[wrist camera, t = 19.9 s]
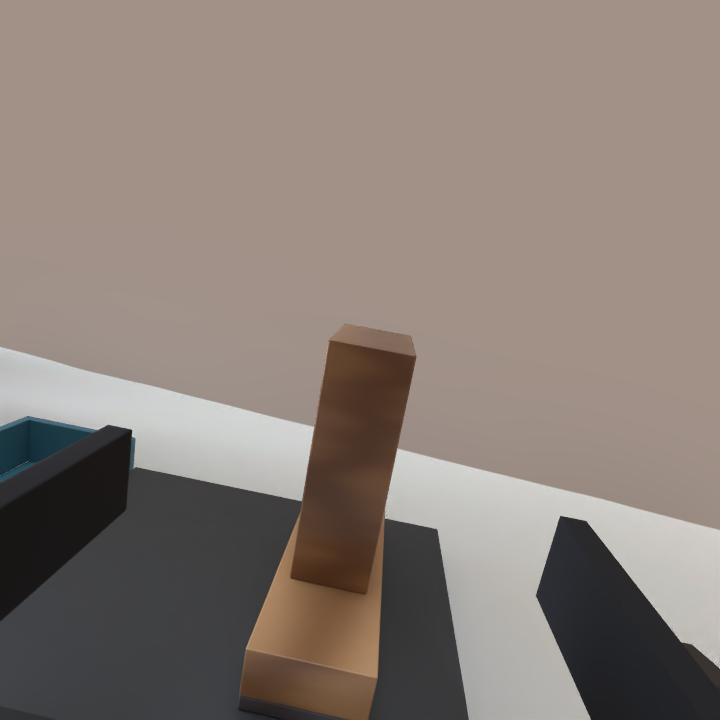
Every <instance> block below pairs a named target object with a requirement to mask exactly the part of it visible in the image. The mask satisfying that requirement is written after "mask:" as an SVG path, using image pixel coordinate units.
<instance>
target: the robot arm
mask: <svg viewBox="0 0 720 720" xmlns="http://www.w3.org/2000/svg"><path fill="white" fill-rule="evenodd" d="M131 438H132V430H131V429H126V428H121V427H116V426H111V425H107V426H105V427H103V428H101V429H100V430H98V431H96V432H94V433H92V434H90V435H88V436H86V437H84V438H83V439H81V440H79V441H77V442H75V443H73V444H71V445H69V446H68V447H66V448H64V449H62V450H60V451H58V452H56V453H54V454H52V455H51V456H49V457H47V458H45V459H43V460H41V461H39V462H37V463H35V464H34V465H32V466H30V467H28V468H26V469H24V470H22V471H20V472H19V473H17V474H15V475H13V476H11V477H9V478H7V479H5V480H3V481H2V482H0V621H2V620H3V619H4V618H5V617H6V616H7V615H8V614H10V613H11V612H12V611H13V610H14V609H15V608H16V607H17V606H19V605H20V604H21V603H22V602H23V601H24V600H25V599H26V598H28V597H29V596H30V595H31V594H32V593H33V592H34V591H35V590H37V589H38V588H39V587H40V586H41V585H42V584H43V583H44V582H46V581H47V580H48V579H49V578H50V577H51V576H52V575H54V574H55V573H56V572H57V571H58V570H59V569H60V568H61V567H63V566H64V565H65V564H66V563H67V562H68V561H69V560H70V559H72V558H73V557H74V556H75V555H76V554H77V553H78V552H79V551H81V550H82V549H83V548H84V547H85V546H86V545H87V544H89V543H90V542H91V541H92V540H93V539H94V538H95V537H96V536H98V535H99V534H100V533H101V532H102V531H103V530H104V529H105V528H107V527H108V526H109V525H110V524H111V523H112V522H113V521H114V520H116V519H117V518H118V517H119V516H120V515H121V514H122V513H123V512H125V511H126V507H127V493H128V480H129V466H130V452H131ZM536 597H537V599H538V601H539V603H540V606H541V608H542V610H543V612H544V615H545V617H546V619H547V621H548V624H549V626H550V628H551V630H552V633H553V635H554V637H555V639H556V642H557V644H558V646H559V648H560V651H561V653H562V655H563V657H564V660H565V662H566V664H567V666H568V669H569V671H570V673H571V675H572V678H573V680H574V682H575V684H576V687H577V689H578V691H579V693H580V696H581V698H582V700H583V702H584V705H585V707H586V709H587V711H588V714H589V716H590V718H591V720H720V669H719V668H718V667H717V666H716V665H715V664H714V663H713V662H711V661H710V660H709V659H708V658H707V657H706V656H704V655H703V654H702V653H701V652H700V651H699V650H697V649H696V648H695V647H694V646H693V645H691V644H686V643H681V642H680V640H679V639H678V638H677V637H676V635H675V634H674V633H673V631H672V630H671V629H670V628H669V626H668V625H667V624H666V623H665V621H664V620H663V619H662V617H661V616H660V615H659V614H658V612H657V611H656V610H655V608H654V607H653V606H652V605H651V603H650V602H649V601H648V599H647V598H646V597H645V596H644V594H643V593H642V592H641V591H640V589H639V588H638V587H637V585H636V584H635V583H634V582H633V580H632V579H631V578H630V576H629V575H628V574H627V573H626V571H625V570H624V569H623V568H622V566H621V565H620V564H619V562H618V561H617V560H616V559H615V557H614V556H613V555H612V553H611V552H610V551H609V550H608V548H607V547H606V546H605V544H604V543H603V542H602V541H601V539H600V538H599V537H598V536H597V534H596V533H595V532H594V530H593V529H592V528H591V527H590V525H589V524H588V523H587V521H583V520H578V519H573V518H568V517H563V516H560V519H559V522H558V525H557V528H556V532H555V535H554V538H553V541H552V545H551V548H550V551H549V554H548V558H547V561H546V564H545V568H544V571H543V574H542V577H541V581H540V584H539V587H538V590H537V594H536Z"/></svg>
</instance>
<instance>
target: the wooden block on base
mask: <svg viewBox="0 0 720 720" xmlns="http://www.w3.org/2000/svg"><path fill="white" fill-rule="evenodd" d="M415 361H416V353H415V350H414V346H413V342H412V338H411V336H409V335H403V334H398V333H392V332H387V331H382V330H376V329H371V328H366V327H361V326H354V325H350V324H344V325H343V326H342V327H341V328H340V329H339V330H338V331H337V332H336V333H335V334H334V335H333V336H332V337H331V338H330V339H329V341H328V348H327V353H326V359H325V365H324V372H323V377H322V384H321V390H320V396H319V402H318V408H317V414H316V420H315V426H314V432H313V438H312V444H311V450H310V457H309V463H308V469H307V475H306V481H305V487H304V493H303V499H302V505H301V511H300V514H299V517H298V519H297V522H296V524H295V527H294V529H293V532H292V534H291V537H290V539H289V542H288V544H287V547H286V549H285V552H284V554H283V557H282V559H281V562H280V565H279V567H278V570H277V572H276V575H275V577H274V580H273V582H272V585H271V587H270V590H269V592H268V595H267V597H266V600H265V602H264V605H263V607H262V610H261V612H260V615H259V617H258V620H257V622H256V625H255V627H254V630H253V632H252V635H251V637H250V640H249V642H248V645H247V647H246V652H245V658H244V665H243V672H242V679H241V686H240V695H239V700H238V709H240V710H245V711H249V712H253V713H258V714H262V715H267V716H271V717H275V718H280V719H284V720H368V719H369V715H370V710H371V706H372V701H373V697H374V693H375V688H376V684H377V679H378V660H379V637H380V614H381V591H382V567H383V544H384V521H385V505H386V500H387V495H388V490H389V486H390V481H391V476H392V471H393V466H394V462H395V457H396V452H397V447H398V442H399V437H400V432H401V428H402V423H403V418H404V413H405V409H406V403H407V399H408V395H409V390H410V385H411V380H412V375H413V371H414V365H415Z"/></svg>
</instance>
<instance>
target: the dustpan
mask: <svg viewBox="0 0 720 720" xmlns="http://www.w3.org/2000/svg"><path fill="white" fill-rule="evenodd" d="M96 431H98V430H94V429H89V428H84V427H79V426H74V425H69V424H65V423H60V422H55V421H50V420H45V419H40V418H34V417H30V416H27V417H24V418H22V419H19V420H16V421H14V422H11V423H9V424H6V425H3V426H1V427H0V475H1V476H0V482H2V481H3V480H5V479H7V478H9V477H11V476H13V475H15V474H17V473H19V472H20V471H22V470H24V469H26V468H28V467H30V466H32V465H34V464H35V463H37V462H39V461H41V460H43V459H45V458H47V457H49V456H51V455H52V454H54V453H56V452H58V451H60V450H62V449H64V448H66V447H68V446H69V445H71V444H73V443H75V442H77V441H79V440H81V439H83V438H84V437H86V436H88V435H90V434H92V433H94V432H96ZM134 452H135V438H133V437H132V438H131V452H130V466H129V472H130V471H132V470H133V465H134ZM27 461H29V462H27ZM25 462H27V463H25ZM23 463H25V464H23ZM21 464H23V465H21ZM19 465H21V466H19ZM17 466H19V467H17ZM15 467H17V468H15ZM13 468H15V469H13ZM12 469H13V470H12ZM10 470H11V471H10ZM8 471H9V472H8ZM6 472H7V473H6ZM4 473H5V474H4ZM2 474H3V475H2Z"/></svg>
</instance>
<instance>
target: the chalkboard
mask: <svg viewBox="0 0 720 720" xmlns="http://www.w3.org/2000/svg"><path fill="white" fill-rule="evenodd" d="M301 505H302V501H297V500H292V499H287V498H283V497H278V496H273V495H268V494H263V493H258V492H253V491H249V490H244V489H239V488H234V487H229V486H224V485H219V484H215V483H210V482H205V481H200V480H195V479H190V478H185V477H181V476H176V475H171V474H166V473H161V472H156V471H151V470H147V469H142V468H137V467H136V468H134V469H133V470H132V471H130V472H129V480H128V493H127V507H126V511H125V512H123V513H122V514H121V515H120V516H119V517H118V518H117V519H116V520H114V521H113V522H112V523H111V524H110V525H109V526H108V527H107V528H105V529H104V530H103V531H102V532H101V533H100V534H99V535H98V536H96V537H95V538H94V539H93V540H92V541H91V542H90V543H89V544H87V545H86V546H85V547H84V548H83V549H82V550H81V551H79V552H78V553H77V554H76V555H75V556H74V557H73V558H72V559H70V560H69V561H68V562H67V563H66V564H65V565H64V566H63V567H61V568H60V569H59V570H58V571H57V572H56V573H55V574H54V575H52V576H51V577H50V578H49V579H48V580H47V581H46V582H44V583H43V584H42V585H41V586H40V587H39V588H38V589H37V590H35V591H34V592H33V593H32V594H31V595H30V596H29V597H28V598H26V599H25V600H24V601H23V602H22V603H21V604H20V605H19V606H17V607H16V608H15V609H14V610H13V611H12V612H11V613H10V614H8V615H7V616H6V617H5V618H4V619H3V620H2V621H0V720H284V719H280V718H275V717H271V716H267V715H262V714H258V713H253V712H249V711H245V710H240V709H238V700H239V695H240V686H241V679H242V672H243V665H244V658H245V652H246V647H247V645H248V642H249V640H250V637H251V635H252V632H253V630H254V627H255V625H256V622H257V620H258V617H259V615H260V612H261V610H262V607H263V605H264V602H265V600H266V597H267V595H268V592H269V590H270V587H271V585H272V582H273V580H274V577H275V575H276V572H277V570H278V567H279V565H280V562H281V559H282V557H283V554H284V552H285V549H286V547H287V544H288V542H289V539H290V537H291V534H292V532H293V529H294V527H295V524H296V522H297V519H298V517H299V514H300V511H301ZM368 720H469V718H468V712H467V706H466V700H465V694H464V688H463V682H462V676H461V670H460V664H459V658H458V652H457V646H456V640H455V634H454V628H453V622H452V616H451V610H450V604H449V598H448V592H447V586H446V580H445V574H444V568H443V561H442V555H441V549H440V543H439V537H438V531H437V529H433V528H428V527H423V526H418V525H414V524H409V523H404V522H399V521H394V520H389V519H385V521H384V544H383V567H382V591H381V614H380V637H379V660H378V679H377V684H376V688H375V693H374V697H373V701H372V706H371V710H370V715H369V719H368Z"/></svg>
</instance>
